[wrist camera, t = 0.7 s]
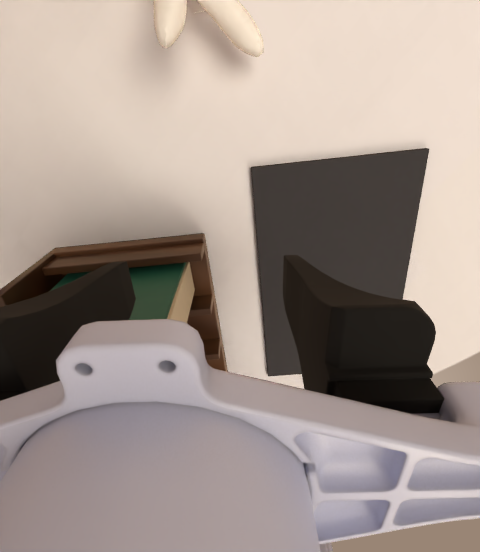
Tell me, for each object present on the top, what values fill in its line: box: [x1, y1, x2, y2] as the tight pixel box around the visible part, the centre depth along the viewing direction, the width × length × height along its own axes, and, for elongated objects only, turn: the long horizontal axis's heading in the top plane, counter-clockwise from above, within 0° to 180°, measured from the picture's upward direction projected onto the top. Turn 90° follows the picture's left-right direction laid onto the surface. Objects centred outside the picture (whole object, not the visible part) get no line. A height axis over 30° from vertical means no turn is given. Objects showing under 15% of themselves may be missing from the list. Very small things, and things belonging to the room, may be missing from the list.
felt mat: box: [251, 148, 429, 376], centre depth 26 cm, size 20×12×1 cm, turn 6°
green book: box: [50, 262, 195, 323], centre depth 21 cm, size 3×9×8 cm, turn 96°
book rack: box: [0, 234, 228, 372], centre depth 25 cm, size 15×12×7 cm
